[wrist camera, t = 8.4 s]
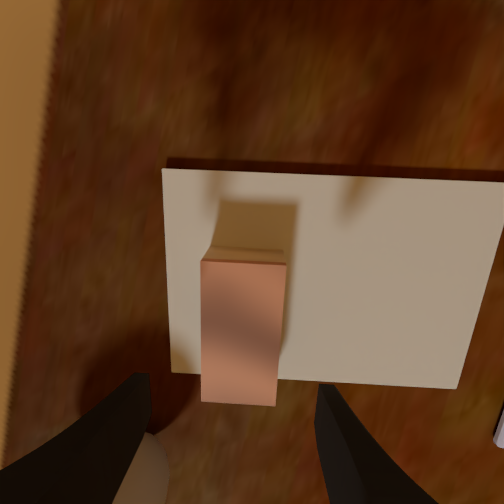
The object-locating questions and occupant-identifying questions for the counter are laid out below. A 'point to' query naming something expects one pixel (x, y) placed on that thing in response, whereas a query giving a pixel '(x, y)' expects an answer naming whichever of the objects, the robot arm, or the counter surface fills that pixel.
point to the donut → (146, 475)
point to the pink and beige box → (241, 324)
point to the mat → (343, 267)
